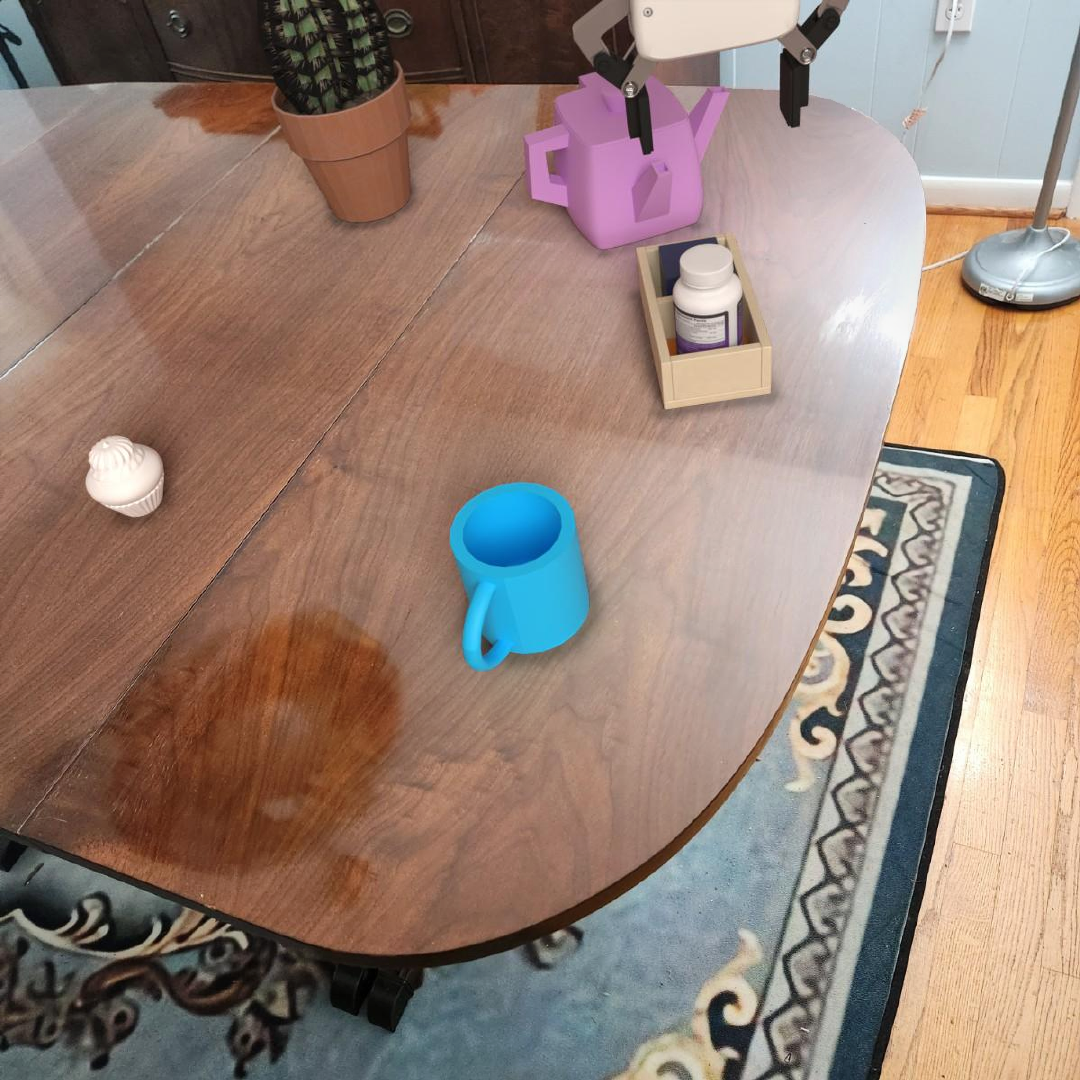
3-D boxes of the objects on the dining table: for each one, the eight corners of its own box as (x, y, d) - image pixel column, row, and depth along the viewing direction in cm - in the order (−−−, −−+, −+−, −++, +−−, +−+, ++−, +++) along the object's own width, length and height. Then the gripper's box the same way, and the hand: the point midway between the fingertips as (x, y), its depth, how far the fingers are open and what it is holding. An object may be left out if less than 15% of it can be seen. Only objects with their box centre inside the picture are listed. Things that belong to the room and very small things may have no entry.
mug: (504, 549, 74) (483, 471, 68) (607, 575, 71) (594, 496, 65) (428, 680, 67) (397, 606, 61) (538, 715, 64) (516, 641, 58)
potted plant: (415, 233, 105) (344, -22, 87) (295, 238, 108) (202, -8, 90) (445, 165, 114) (386, -80, 95) (333, 172, 117) (255, -65, 98)
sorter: (733, 278, 92) (733, 231, 88) (771, 394, 81) (772, 346, 77) (639, 293, 92) (635, 247, 89) (664, 410, 81) (661, 363, 78)
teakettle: (590, 155, 110) (576, 40, 101) (738, 172, 103) (737, 50, 94) (517, 240, 101) (494, 122, 92) (673, 266, 94) (666, 141, 85)
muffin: (104, 493, 85) (63, 432, 80) (175, 467, 86) (138, 406, 81) (110, 541, 81) (66, 481, 76) (183, 514, 82) (146, 452, 77)
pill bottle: (706, 331, 86) (703, 230, 79) (756, 355, 83) (757, 252, 76) (663, 363, 84) (655, 263, 77) (712, 389, 81) (709, 287, 74)
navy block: (717, 285, 90) (716, 236, 86) (727, 318, 87) (726, 268, 83) (661, 293, 90) (658, 245, 87) (669, 327, 87) (666, 278, 83)
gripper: (848, -218, 57) (833, 83, 69) (545, -154, 58) (585, 130, 71) (885, -185, 52) (863, 134, 64) (553, -116, 53) (594, 183, 66)
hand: (717, 131), depth 67 cm, fingers open, 9 cm apart
